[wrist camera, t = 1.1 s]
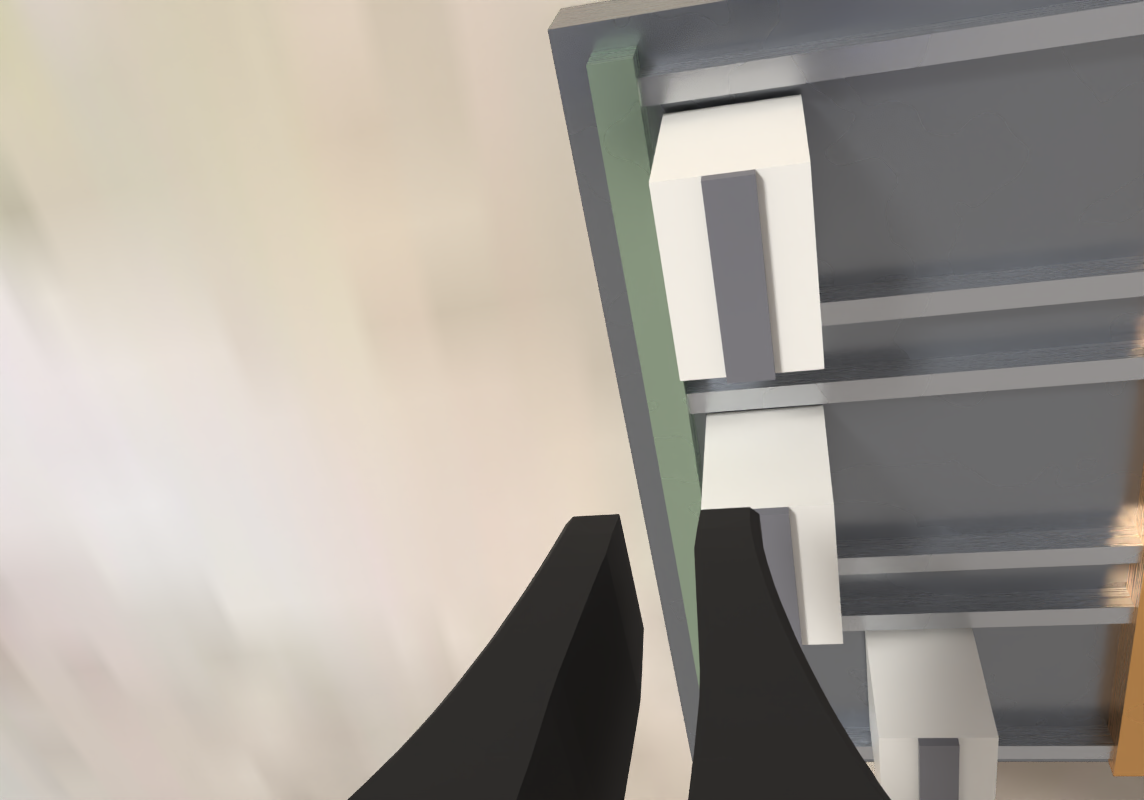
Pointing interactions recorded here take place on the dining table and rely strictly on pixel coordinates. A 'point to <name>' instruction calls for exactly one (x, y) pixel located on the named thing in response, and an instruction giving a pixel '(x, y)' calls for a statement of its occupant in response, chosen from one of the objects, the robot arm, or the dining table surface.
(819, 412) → the breaker
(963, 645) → the breaker
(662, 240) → the breaker
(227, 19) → the dining table surface
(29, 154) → the dining table surface
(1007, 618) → the panel
